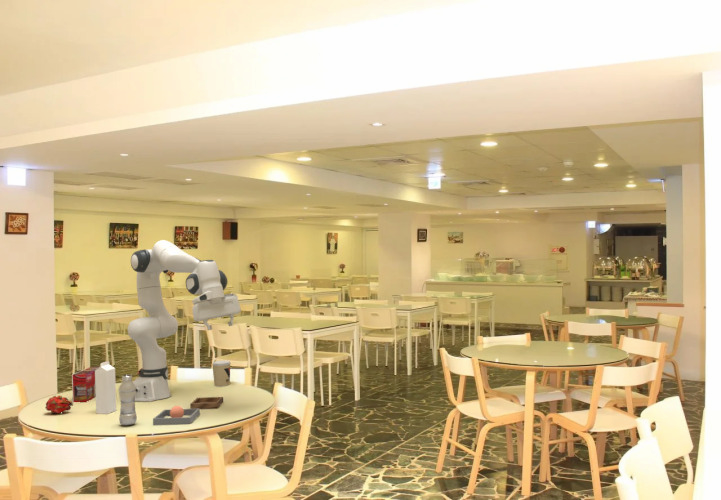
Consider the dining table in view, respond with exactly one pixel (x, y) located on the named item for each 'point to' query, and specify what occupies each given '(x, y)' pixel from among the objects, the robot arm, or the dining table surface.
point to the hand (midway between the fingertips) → (220, 327)
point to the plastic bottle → (127, 401)
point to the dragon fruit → (58, 404)
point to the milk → (105, 389)
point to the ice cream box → (84, 385)
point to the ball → (177, 412)
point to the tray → (206, 403)
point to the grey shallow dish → (170, 421)
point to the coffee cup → (221, 373)
